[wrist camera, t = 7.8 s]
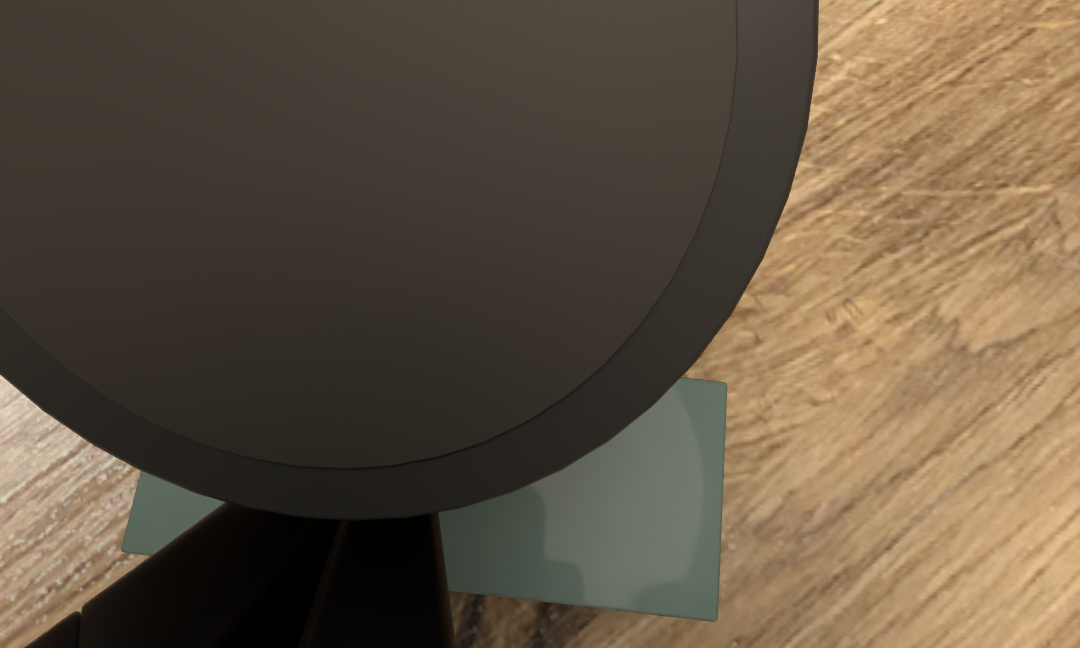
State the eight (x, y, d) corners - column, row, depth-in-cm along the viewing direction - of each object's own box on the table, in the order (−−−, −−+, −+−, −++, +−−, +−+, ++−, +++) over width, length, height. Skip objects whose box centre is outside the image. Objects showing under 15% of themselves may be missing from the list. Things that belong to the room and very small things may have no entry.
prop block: (674, 588, 14) (718, 622, 10) (217, 535, 14) (118, 552, 11) (684, 403, 15) (728, 381, 11) (256, 356, 15) (177, 320, 12)
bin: (596, 588, 13) (1405, 436, 1) (276, 551, 13) (-2095, 55, 1) (627, 117, 17) (835, -826, 6) (395, 93, 17) (156, -879, 6)
